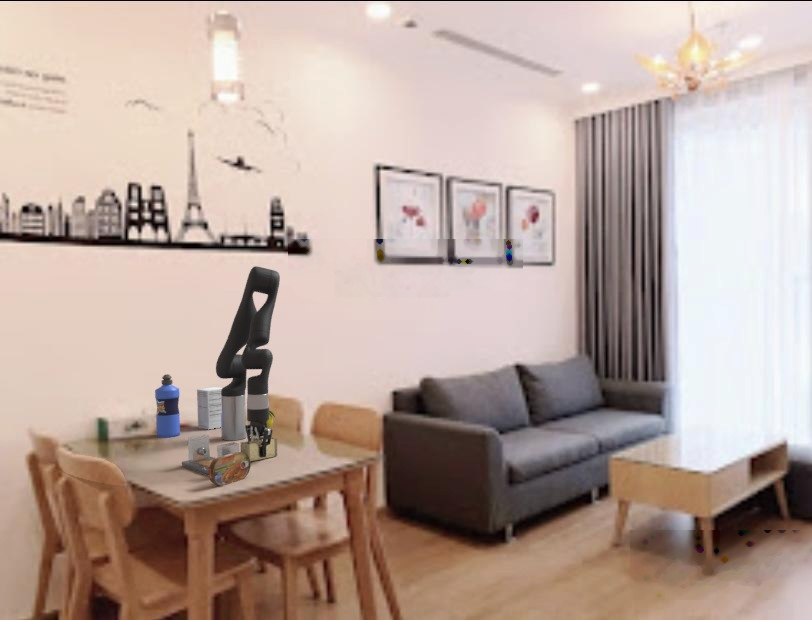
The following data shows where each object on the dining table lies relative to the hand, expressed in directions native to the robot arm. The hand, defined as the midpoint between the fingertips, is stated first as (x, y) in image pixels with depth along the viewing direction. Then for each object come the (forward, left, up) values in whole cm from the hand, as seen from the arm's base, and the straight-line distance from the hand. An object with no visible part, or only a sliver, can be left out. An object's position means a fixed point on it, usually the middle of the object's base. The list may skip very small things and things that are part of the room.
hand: (259, 455), depth 231 cm
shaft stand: (+1, -18, -1) cm, 18 cm away
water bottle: (-63, -3, -1) cm, 63 cm away
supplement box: (-65, +18, -1) cm, 67 cm away
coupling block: (0, 0, -1) cm, 1 cm away
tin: (+18, -22, -1) cm, 29 cm away
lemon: (-42, +30, -1) cm, 52 cm away
